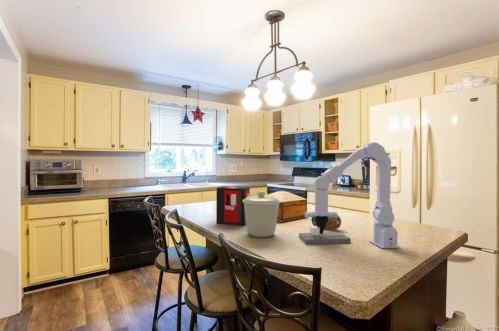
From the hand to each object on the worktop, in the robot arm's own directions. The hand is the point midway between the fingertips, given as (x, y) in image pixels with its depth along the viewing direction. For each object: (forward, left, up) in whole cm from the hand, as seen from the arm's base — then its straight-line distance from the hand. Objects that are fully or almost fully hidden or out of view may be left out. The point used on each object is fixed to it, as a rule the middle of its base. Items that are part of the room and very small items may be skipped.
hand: (320, 233), depth 120 cm
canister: (+11, +25, -3) cm, 28 cm away
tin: (+19, -11, -3) cm, 22 cm away
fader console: (0, -2, -3) cm, 4 cm away
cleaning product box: (+35, +37, -3) cm, 51 cm away
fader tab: (0, +3, -1) cm, 3 cm away
